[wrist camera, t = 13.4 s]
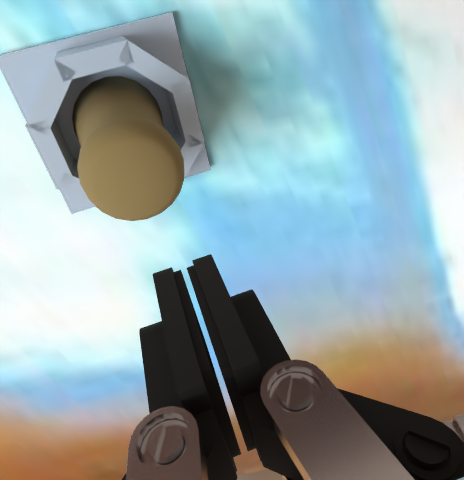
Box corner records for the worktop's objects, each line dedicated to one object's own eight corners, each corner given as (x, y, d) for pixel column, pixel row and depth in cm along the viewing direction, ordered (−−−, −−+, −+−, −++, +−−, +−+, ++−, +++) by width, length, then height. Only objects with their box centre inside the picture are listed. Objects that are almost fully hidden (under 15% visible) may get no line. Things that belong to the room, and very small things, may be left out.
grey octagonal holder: (170, 12, 26) (183, 14, 23) (208, 166, 32) (223, 186, 29) (-4, 55, 24) (-17, 64, 21) (71, 210, 30) (70, 236, 27)
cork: (88, 173, 29) (91, 252, 20) (58, 85, 26) (45, 134, 17) (170, 154, 30) (208, 221, 21) (151, 68, 27) (187, 104, 18)
